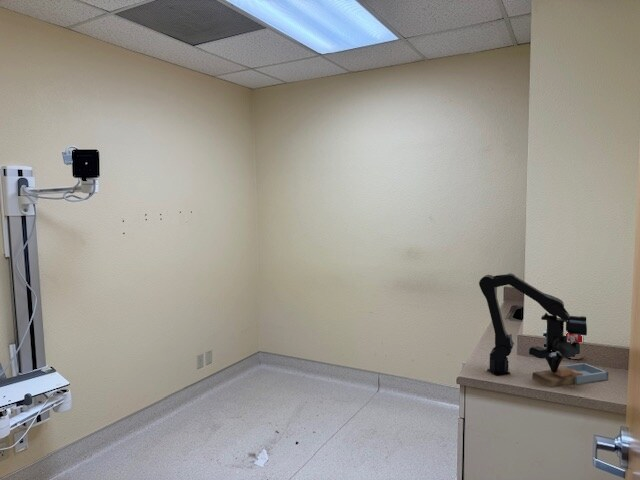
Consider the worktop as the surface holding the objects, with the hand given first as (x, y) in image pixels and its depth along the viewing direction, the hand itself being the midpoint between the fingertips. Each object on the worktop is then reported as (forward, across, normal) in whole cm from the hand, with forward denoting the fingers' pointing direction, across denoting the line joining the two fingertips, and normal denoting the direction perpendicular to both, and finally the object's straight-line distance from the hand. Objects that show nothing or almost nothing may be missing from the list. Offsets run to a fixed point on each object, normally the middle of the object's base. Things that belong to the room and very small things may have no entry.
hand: (554, 372), depth 167 cm
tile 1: (+1, +4, 0) cm, 4 cm away
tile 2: (+2, +8, 0) cm, 9 cm away
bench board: (+3, 0, 0) cm, 3 cm away
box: (+3, +13, 0) cm, 13 cm away
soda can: (+4, +28, +18) cm, 34 cm away
